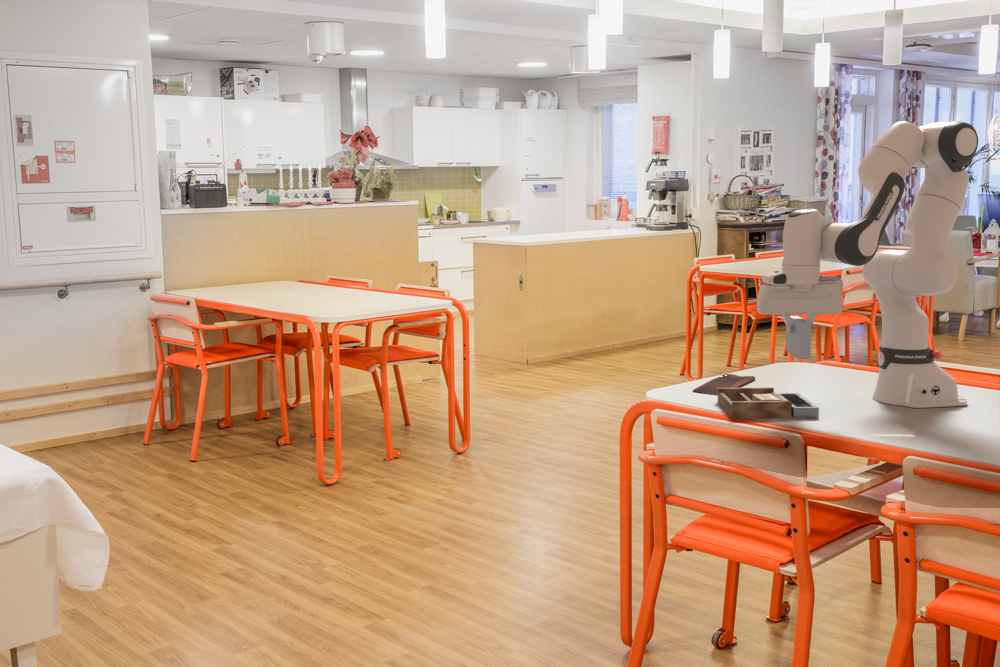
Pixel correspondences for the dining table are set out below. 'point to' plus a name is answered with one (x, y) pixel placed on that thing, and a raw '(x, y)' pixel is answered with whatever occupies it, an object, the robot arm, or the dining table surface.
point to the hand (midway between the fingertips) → (798, 332)
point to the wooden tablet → (724, 383)
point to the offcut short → (764, 397)
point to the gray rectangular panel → (799, 338)
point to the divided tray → (752, 403)
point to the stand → (800, 406)
